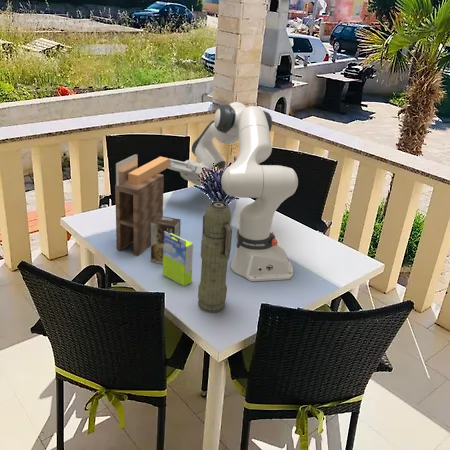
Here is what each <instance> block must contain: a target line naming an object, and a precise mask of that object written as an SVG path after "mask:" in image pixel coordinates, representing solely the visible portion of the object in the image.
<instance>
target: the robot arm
mask: <svg viewBox="0 0 450 450" xmlns="http://www.w3.org/2000/svg"><path fill="white" fill-rule="evenodd" d="M272 126H273V117H272V115H271V114H270V113H269V112H268V111H266V110H263V109H262V108H261V107H259V106H256V105H250V106H246V105H245V104H244V103H242V102H240V101H234V102H231V103H228V104H221V105H219V106H218V108H216V111H215V114H214V117H213V120H211V121H210V122H209V123H208V125H207V126H206V127H205V129H204V130H203V131H202V133H201V134H200V135H199V136H198V137H197V138H196V140H194V141H193V143H192V145H191V152H192V154H193V155H194V157H195V158H196V159H197V160H198V161H195V160H194V159H187V160H185V161H181V160H177V159H173V158H169V167H168V168H167V169H169V170H172V171H175V172H179V174H180V177H181V178H183V179H184V180H186V181H188V182H190V183H191V184H194V185H196V186H201V182H200V178H199V176H198V175H200V173H201V172H202V168H203V167H205V168H206V169H213V165H215V167H217V166H219V170H224V171H223V172H222V174H221V175H222V176H221V179H220V180H221V181H220V182H221V183H220V184H221V187H222V189H223V191H224V193H225V194H226V195H227V196H231V197H234V198H235V197H236V198H243V199H246V198H247V199H248V198H249V199H255V201H253V202H251V203H249V204H247V205H245V206H244V207H243V208H242V210H241V211H240V213H239V223H238V224H239V225H238V230H237V232H236V236H235V237H236V238H235V240H236V241H235V245H236V248H235V253H234V256H233V259H232V261H231V262H230V268H231V270H232V271H233V272H234V273H235V274H237V275H239V276H241V277H244V278H245V279H246V280H247V281H249V282H266V281H268V282H269V281H281V280H284V281H285V280H291V279H292V278H293V276H294V268H293V265H292V262H291V261H290V260H289V259H288V255H287V253H286V251H285V249H284V248H283V247H281V246H280V245H279V244H278V240H277V239H276V235H275V234H274V232H273V231H271V228H272V224H273V223H272V222H273V218H274V216H275V213H276V211H277V209H278V208H279V207H280V205H282V203H284V201H285V200H287V199H288V198H290V197H291V196H293V195H294V194H295V193H296V190H297V188H298V186H299V178H298V174H297V173H296V171H295V170H294V169H293V168H292V167H288V166H283V165H279V164H277V165H276V164H275V165H274V164H273V165H272V164H268V165H267V164H265V165H264V164H260V163H263V162H265V161H266V160H267V159H268V158H269V157H270V156H271V154H272V151H273V147H272V141H271V130H272ZM214 138H215V139H216V140H217V141H218V142H219V143H222V144H226V145H231V144H235V143H236V142H238V144H239V145H238V148H239V149H238V156H237V158H236V160H235V161H234V162H233V163H232V164H231V165H229V166H228V167H226V161H225V160H224V158H223V156H222V154H221V153H220V152H219V151H218V149H217V148H216V146H215V144H214V141H213V139H214ZM213 163H214V164H213Z"/></svg>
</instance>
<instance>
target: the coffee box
mask: <svg viewBox="0 0 450 450" xmlns="http://www.w3.org/2000/svg"><path fill="white" fill-rule="evenodd" d="M164 231H166V232H168V233H172V234H174V235H176V236H178V237H181V219H180V218H174V217H170V216H169V217H168V216H164V215H163V216H158V215H157V216H156V217H155V219H154V220H153V221H152V222H151V246H150V262H151V263H155V264H160V265H163V245H164Z"/></svg>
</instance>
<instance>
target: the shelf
mask: <svg viewBox="0 0 450 450" xmlns="http://www.w3.org/2000/svg"><path fill="white" fill-rule="evenodd" d="M164 177H165V175H164V174H161V173H158V174H156V175H154V176H153V177H151V178H149V179H147V180H146V181H144V182H142V183H141V184H139V185H136V184H132V183H128V181H127V182H125V183H123V184H121V185H119V186H117V185H116V184H115V185H114V190H115V191H114V193H115V195H114V196H115V229H116V230H115V235H116V236H115V237H116V250H117V251H120V252H121V251H122V250H124V249H125V248H127V247H128V246H129V245H131V244H132V243H133V256H135V257H138V256H139V255H141V254H143V253H144V252H145V251H146V250H147V249H148V248H151V222H152V221H153V220H154V219H155V217H156V216H157V215H158V216H164V182H165V181H164V180H165V179H164Z"/></svg>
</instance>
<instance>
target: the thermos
mask: <svg viewBox="0 0 450 450" xmlns="http://www.w3.org/2000/svg"><path fill="white" fill-rule="evenodd" d="M204 213H205V214H204V215H203V216H202V237H201V242H200V243H201V245H200V258H201V266H200V267H201V269H200V271H201V272H200V282H199V284H198V290H197V299H198V301H197V305H198V308H199V309H201V310H202V311H204V312H207V313H218V312H221V311H223V310H224V309H225V306H226V301H227V300H226V299H227V295H228V294H227V292H228V291H227V290H228V286H227V272H228V261H229V260H230V256H231V247H232V236H233V228H232V225H231V218H232V212H231V209H230V206H229V204H228V203H226V202H224V201H220V200H219V201H217V200H216V201H212V202H210V203H209V204H208V206H207V207H206V210H205V212H204Z"/></svg>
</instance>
